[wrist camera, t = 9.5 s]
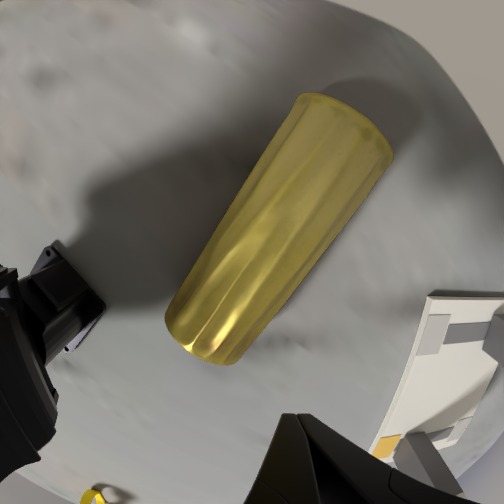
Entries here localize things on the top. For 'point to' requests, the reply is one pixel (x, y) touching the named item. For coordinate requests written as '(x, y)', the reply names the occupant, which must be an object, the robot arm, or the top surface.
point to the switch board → (441, 374)
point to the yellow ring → (90, 494)
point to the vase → (278, 226)
